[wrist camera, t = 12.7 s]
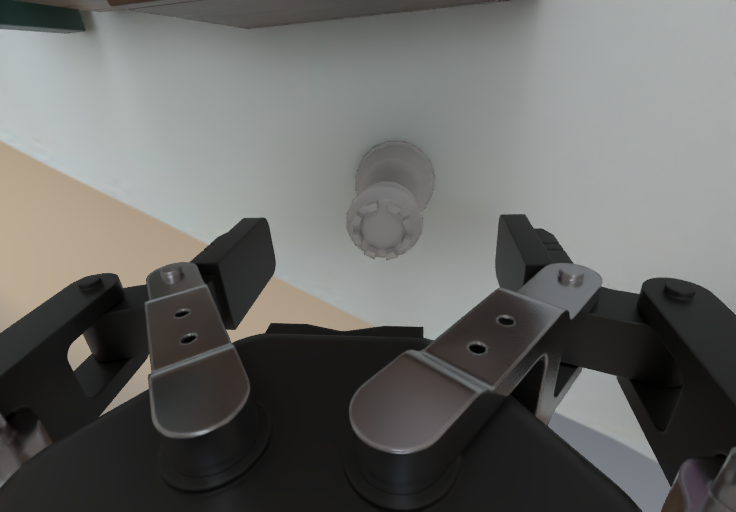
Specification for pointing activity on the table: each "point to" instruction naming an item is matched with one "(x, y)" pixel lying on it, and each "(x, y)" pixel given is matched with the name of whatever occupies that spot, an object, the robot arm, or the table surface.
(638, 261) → the table surface
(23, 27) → the drawer
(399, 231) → the rook chess piece
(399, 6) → the cabinet
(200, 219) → the table surface
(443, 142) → the table surface
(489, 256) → the table surface
